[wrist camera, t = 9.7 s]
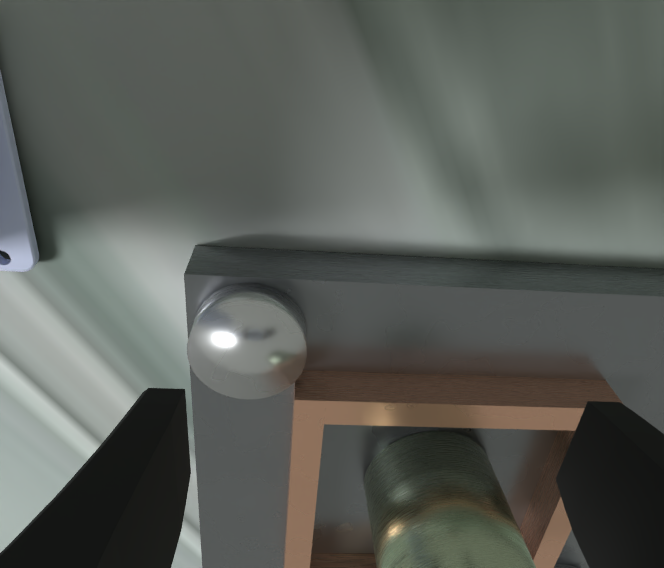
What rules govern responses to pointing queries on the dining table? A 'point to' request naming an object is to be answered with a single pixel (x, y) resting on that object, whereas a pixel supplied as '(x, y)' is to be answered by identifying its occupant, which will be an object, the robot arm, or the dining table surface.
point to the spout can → (440, 506)
